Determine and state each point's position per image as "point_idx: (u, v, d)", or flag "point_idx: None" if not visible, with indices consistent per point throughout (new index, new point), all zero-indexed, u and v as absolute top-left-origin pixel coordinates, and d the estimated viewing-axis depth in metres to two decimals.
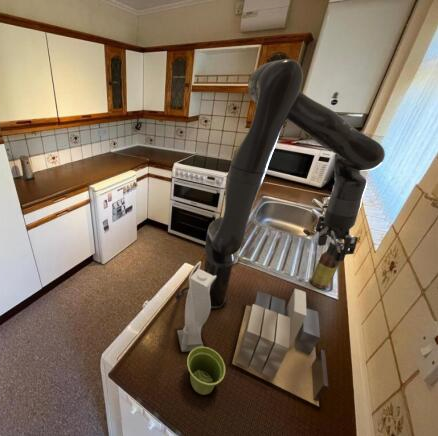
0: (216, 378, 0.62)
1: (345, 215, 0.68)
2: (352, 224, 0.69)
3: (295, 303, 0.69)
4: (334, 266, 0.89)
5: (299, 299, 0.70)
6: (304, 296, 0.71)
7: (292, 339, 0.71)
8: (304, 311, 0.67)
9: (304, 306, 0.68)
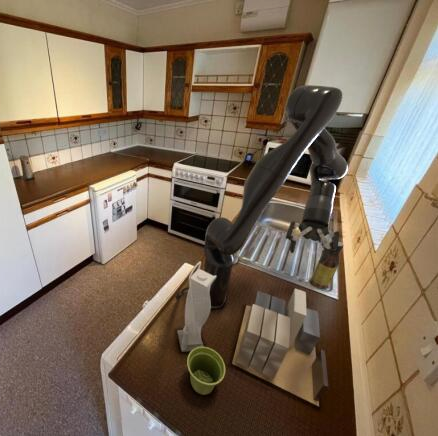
0: (216, 378, 0.62)
1: (331, 212, 0.78)
2: None
3: (295, 303, 0.69)
4: (334, 266, 0.89)
5: (299, 299, 0.70)
6: (304, 296, 0.71)
7: (292, 339, 0.71)
8: (304, 311, 0.67)
9: (304, 306, 0.68)
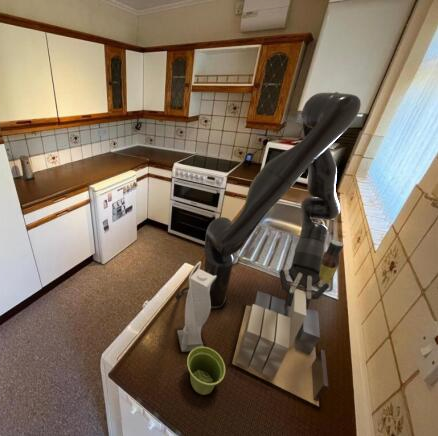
0: (216, 378, 0.62)
1: (322, 257, 0.73)
2: None
3: (295, 303, 0.69)
4: (334, 266, 0.89)
5: (299, 299, 0.70)
6: (304, 296, 0.71)
7: (292, 339, 0.71)
8: (304, 311, 0.67)
9: (304, 306, 0.68)
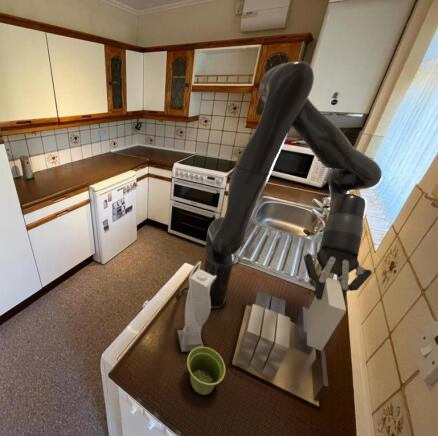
0: (216, 378, 0.62)
1: (361, 237, 0.57)
2: None
3: (329, 295, 0.53)
4: None
5: (333, 290, 0.54)
6: (339, 286, 0.55)
7: (324, 341, 0.55)
8: (342, 305, 0.51)
9: (341, 298, 0.52)
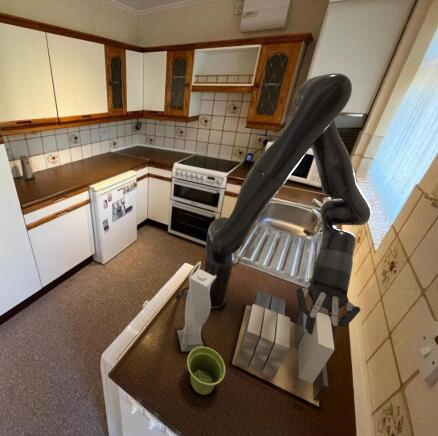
0: (216, 378, 0.62)
1: (350, 273, 0.59)
2: None
3: (318, 332, 0.55)
4: None
5: (323, 327, 0.56)
6: (329, 322, 0.57)
7: (314, 376, 0.57)
8: (331, 343, 0.53)
9: (330, 336, 0.54)
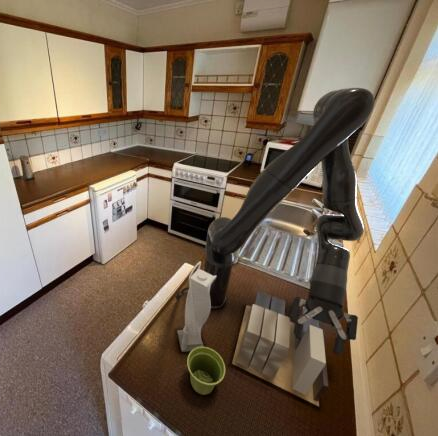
0: (216, 378, 0.62)
1: (345, 288, 0.61)
2: None
3: (311, 345, 0.58)
4: None
5: (315, 340, 0.59)
6: (321, 335, 0.60)
7: (307, 387, 0.59)
8: (323, 357, 0.55)
9: (322, 350, 0.57)
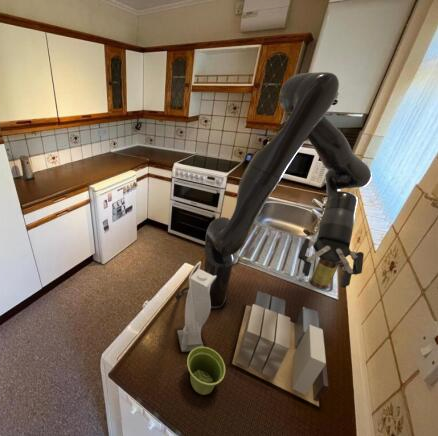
0: (216, 378, 0.62)
1: (352, 229, 0.66)
2: None
3: (311, 345, 0.58)
4: (334, 266, 0.89)
5: (315, 340, 0.59)
6: (321, 335, 0.60)
7: (307, 387, 0.59)
8: (323, 357, 0.55)
9: (322, 350, 0.57)
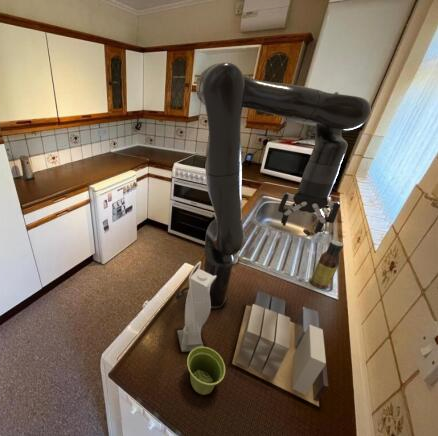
0: (216, 378, 0.62)
1: (333, 182, 0.63)
2: None
3: (311, 345, 0.58)
4: (334, 266, 0.89)
5: (315, 340, 0.59)
6: (321, 335, 0.60)
7: (307, 387, 0.59)
8: (323, 357, 0.55)
9: (322, 350, 0.57)
